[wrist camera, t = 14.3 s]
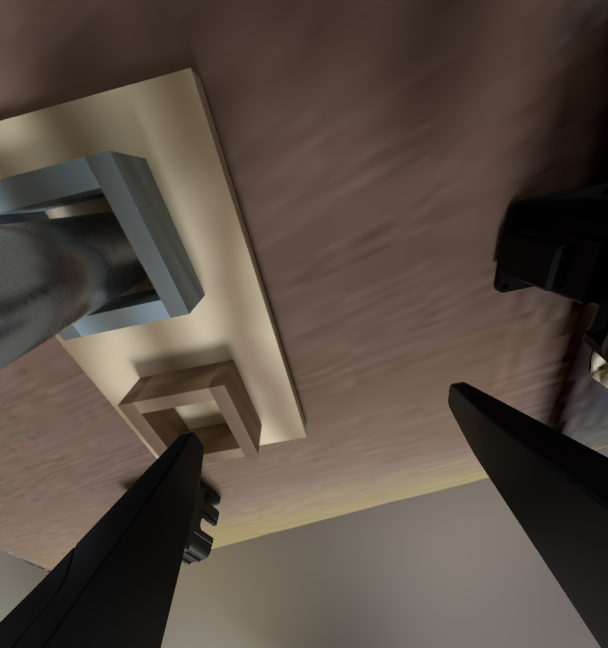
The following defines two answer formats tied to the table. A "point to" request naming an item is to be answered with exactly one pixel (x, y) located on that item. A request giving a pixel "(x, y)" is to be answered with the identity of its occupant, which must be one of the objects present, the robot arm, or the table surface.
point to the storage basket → (599, 369)
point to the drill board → (161, 264)
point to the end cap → (197, 539)
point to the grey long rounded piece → (59, 276)
